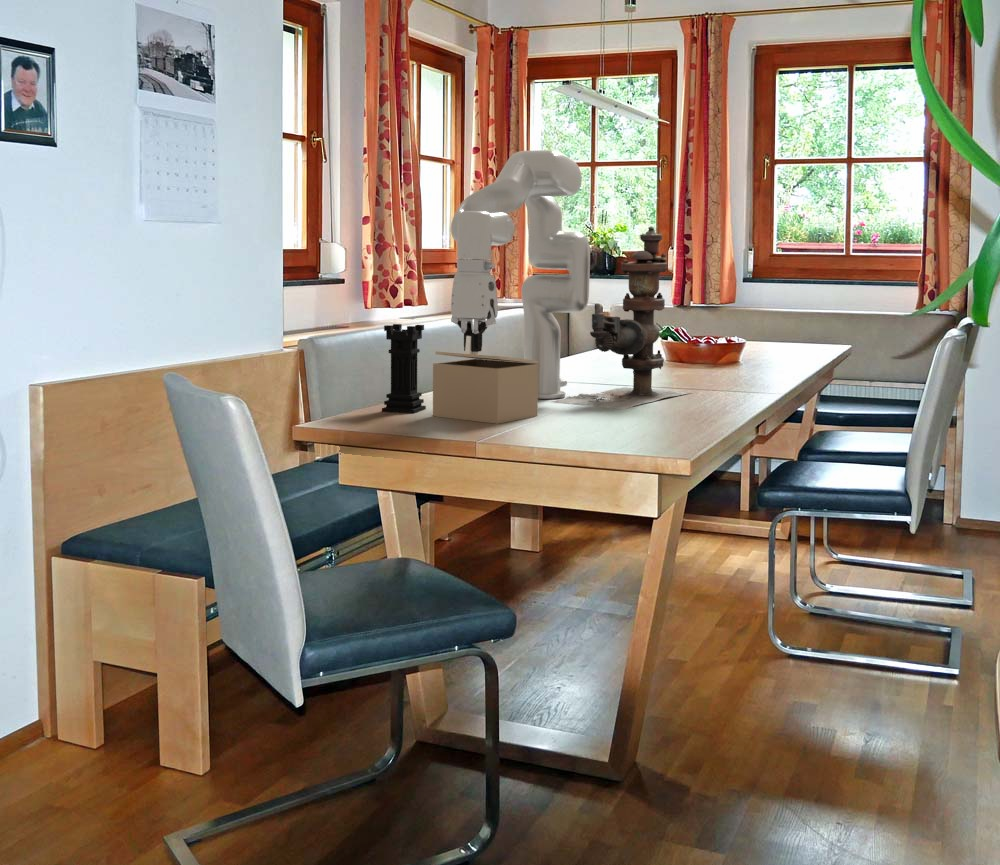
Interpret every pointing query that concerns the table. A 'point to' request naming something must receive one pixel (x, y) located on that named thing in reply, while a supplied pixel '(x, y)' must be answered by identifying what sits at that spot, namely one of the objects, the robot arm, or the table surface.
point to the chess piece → (403, 369)
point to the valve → (633, 331)
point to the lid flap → (475, 355)
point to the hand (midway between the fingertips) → (472, 350)
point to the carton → (485, 390)
